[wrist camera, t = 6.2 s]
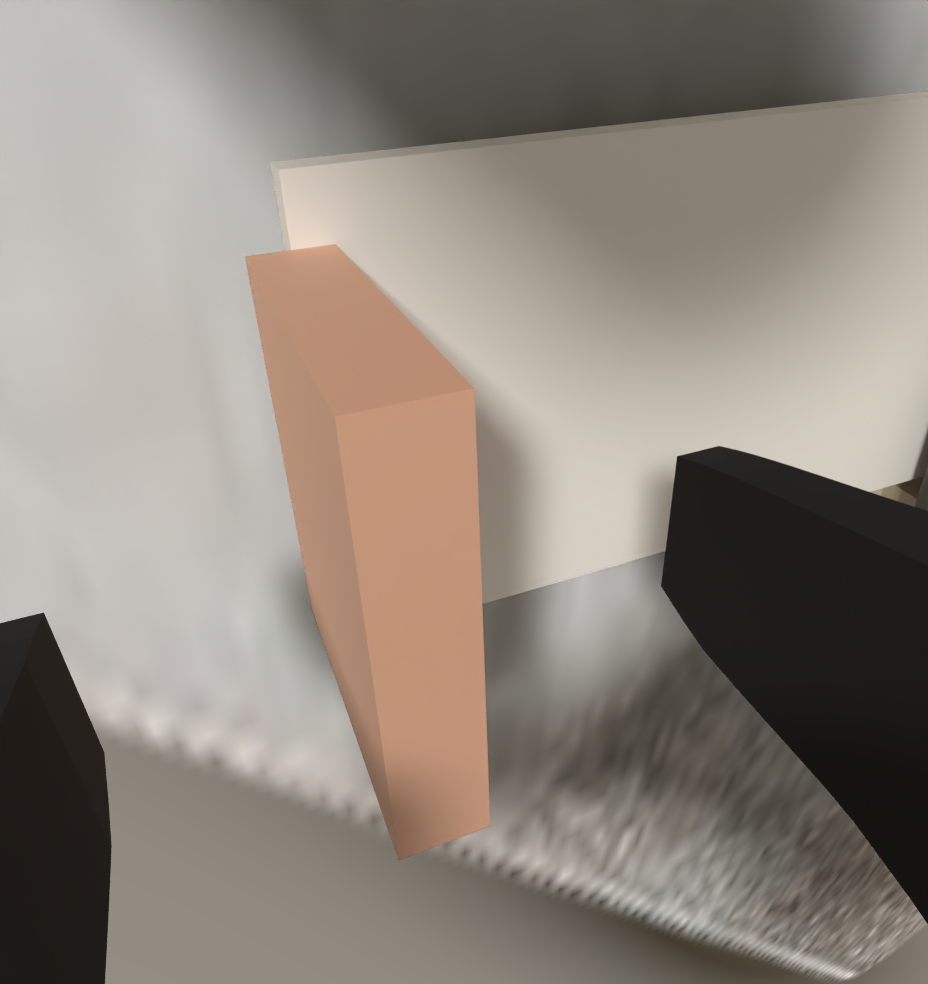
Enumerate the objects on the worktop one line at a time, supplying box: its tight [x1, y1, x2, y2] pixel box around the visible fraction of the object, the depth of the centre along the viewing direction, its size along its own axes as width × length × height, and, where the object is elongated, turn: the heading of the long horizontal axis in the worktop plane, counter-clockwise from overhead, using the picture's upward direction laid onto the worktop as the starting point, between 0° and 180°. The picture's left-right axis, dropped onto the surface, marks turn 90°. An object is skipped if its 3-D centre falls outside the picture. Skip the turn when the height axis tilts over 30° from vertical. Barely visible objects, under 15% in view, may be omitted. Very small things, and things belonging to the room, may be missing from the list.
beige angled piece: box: [245, 91, 928, 860], centre depth 12 cm, size 15×8×6 cm, turn 92°
